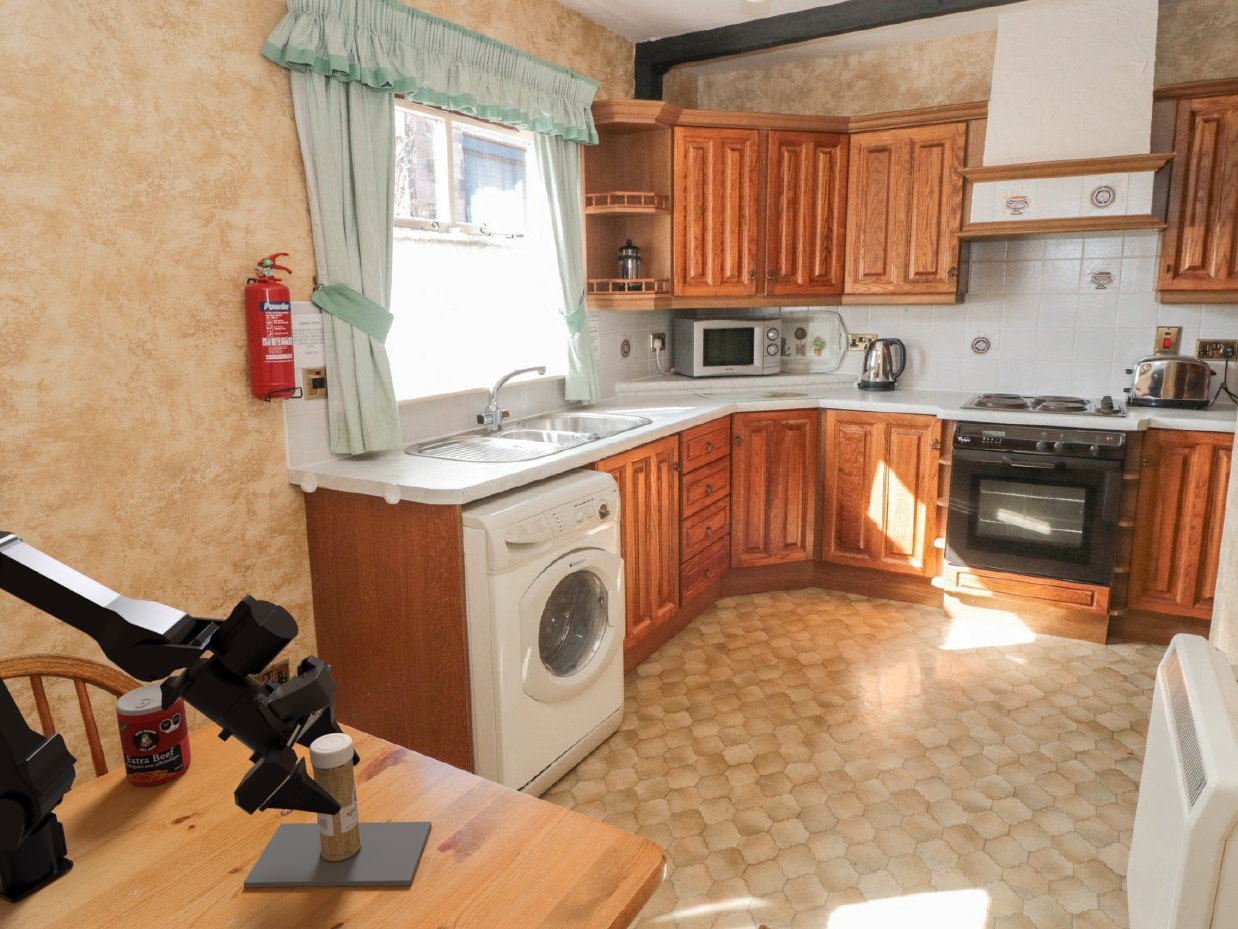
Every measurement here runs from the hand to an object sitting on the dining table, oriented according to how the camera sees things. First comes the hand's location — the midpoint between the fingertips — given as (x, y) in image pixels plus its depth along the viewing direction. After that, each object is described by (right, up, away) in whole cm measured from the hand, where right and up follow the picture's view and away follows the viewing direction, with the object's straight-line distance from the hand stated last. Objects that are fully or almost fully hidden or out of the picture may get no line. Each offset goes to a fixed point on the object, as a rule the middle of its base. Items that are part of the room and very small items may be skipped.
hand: (348, 786), depth 92 cm
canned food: (-32, -6, +19) cm, 37 cm away
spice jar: (-1, -8, +2) cm, 8 cm away
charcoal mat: (-1, -9, +2) cm, 9 cm away
